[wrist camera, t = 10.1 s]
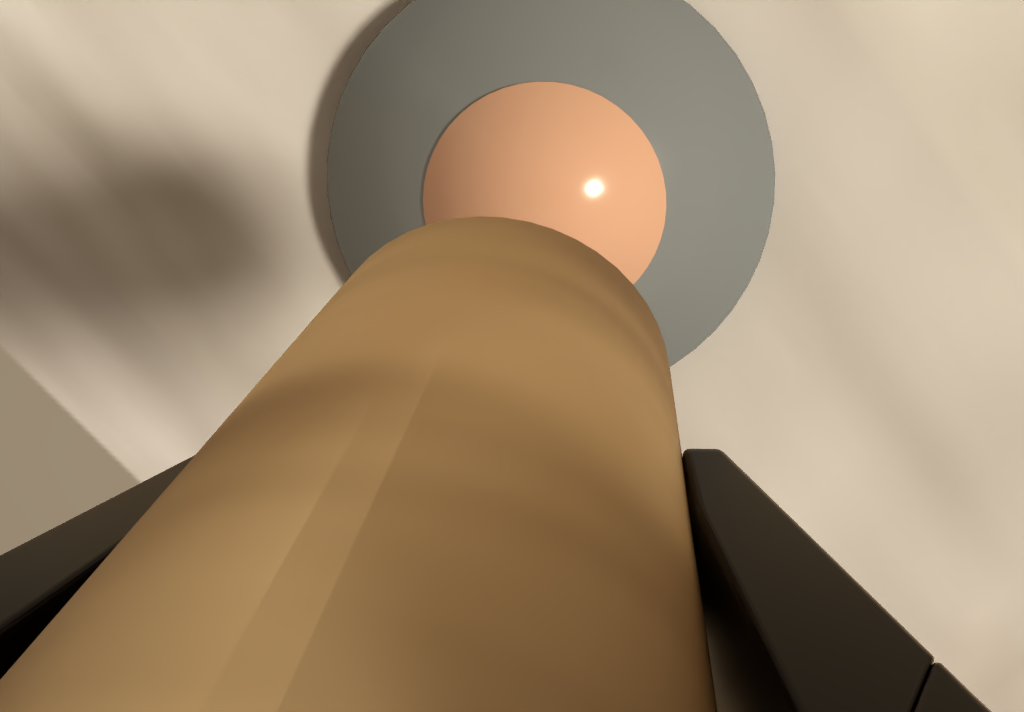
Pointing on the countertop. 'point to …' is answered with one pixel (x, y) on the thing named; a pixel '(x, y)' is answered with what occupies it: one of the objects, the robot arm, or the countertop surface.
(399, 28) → the coaster
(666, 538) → the oak canister
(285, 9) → the countertop surface
